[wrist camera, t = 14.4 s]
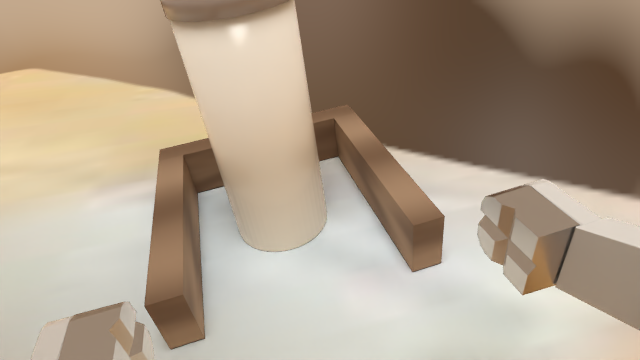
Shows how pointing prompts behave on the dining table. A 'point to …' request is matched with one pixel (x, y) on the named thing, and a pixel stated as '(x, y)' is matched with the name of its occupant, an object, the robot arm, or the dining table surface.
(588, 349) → the dining table surface
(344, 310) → the dining table surface
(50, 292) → the dining table surface
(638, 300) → the robot arm
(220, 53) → the canister
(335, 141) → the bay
